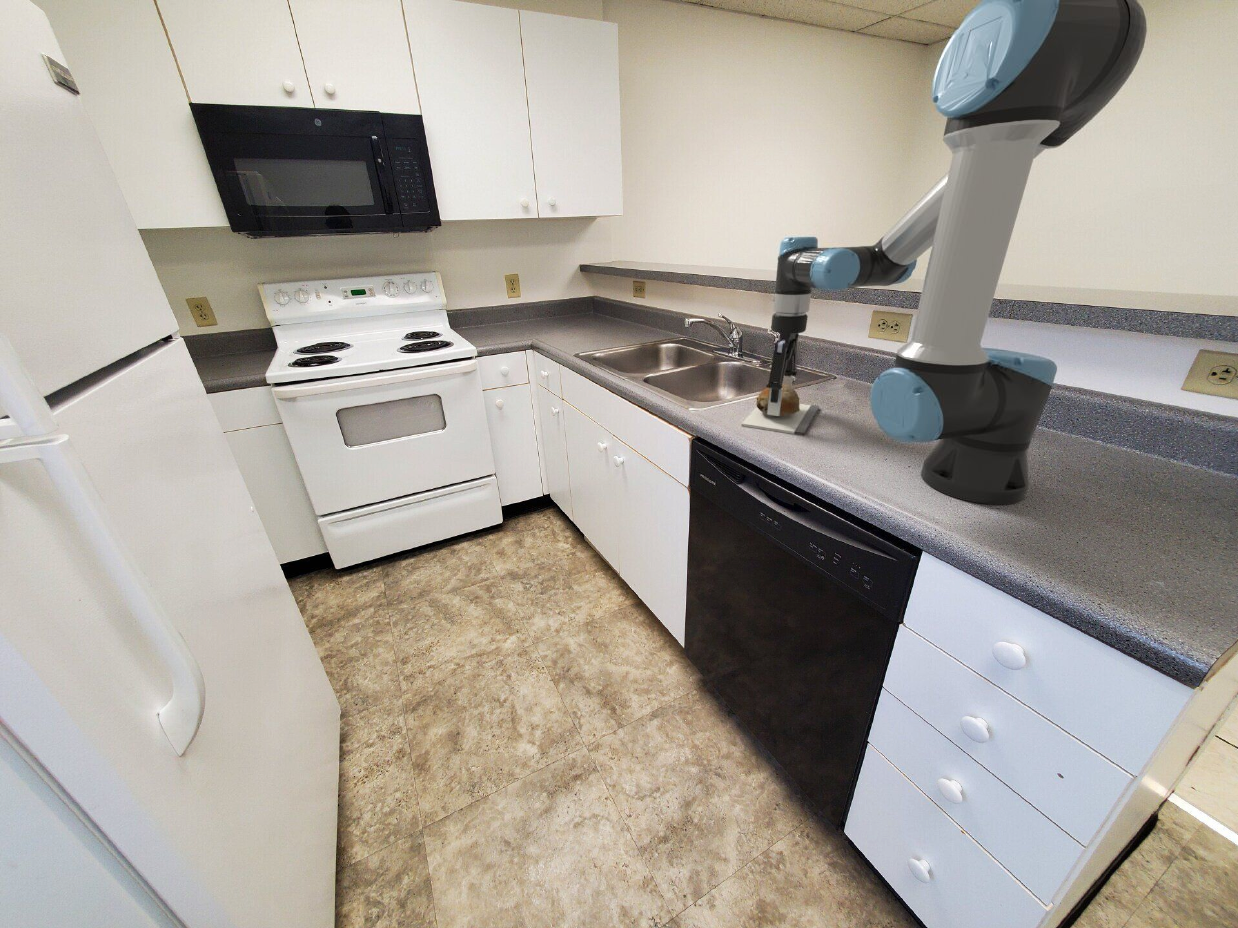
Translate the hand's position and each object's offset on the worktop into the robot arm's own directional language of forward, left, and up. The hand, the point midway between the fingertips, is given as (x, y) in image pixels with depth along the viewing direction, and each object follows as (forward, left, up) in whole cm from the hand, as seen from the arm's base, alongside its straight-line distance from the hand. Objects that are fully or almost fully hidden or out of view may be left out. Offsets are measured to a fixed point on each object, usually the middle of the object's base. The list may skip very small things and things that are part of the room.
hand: (778, 407), depth 116 cm
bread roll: (0, 0, -1) cm, 1 cm away
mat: (0, -1, -2) cm, 2 cm away
